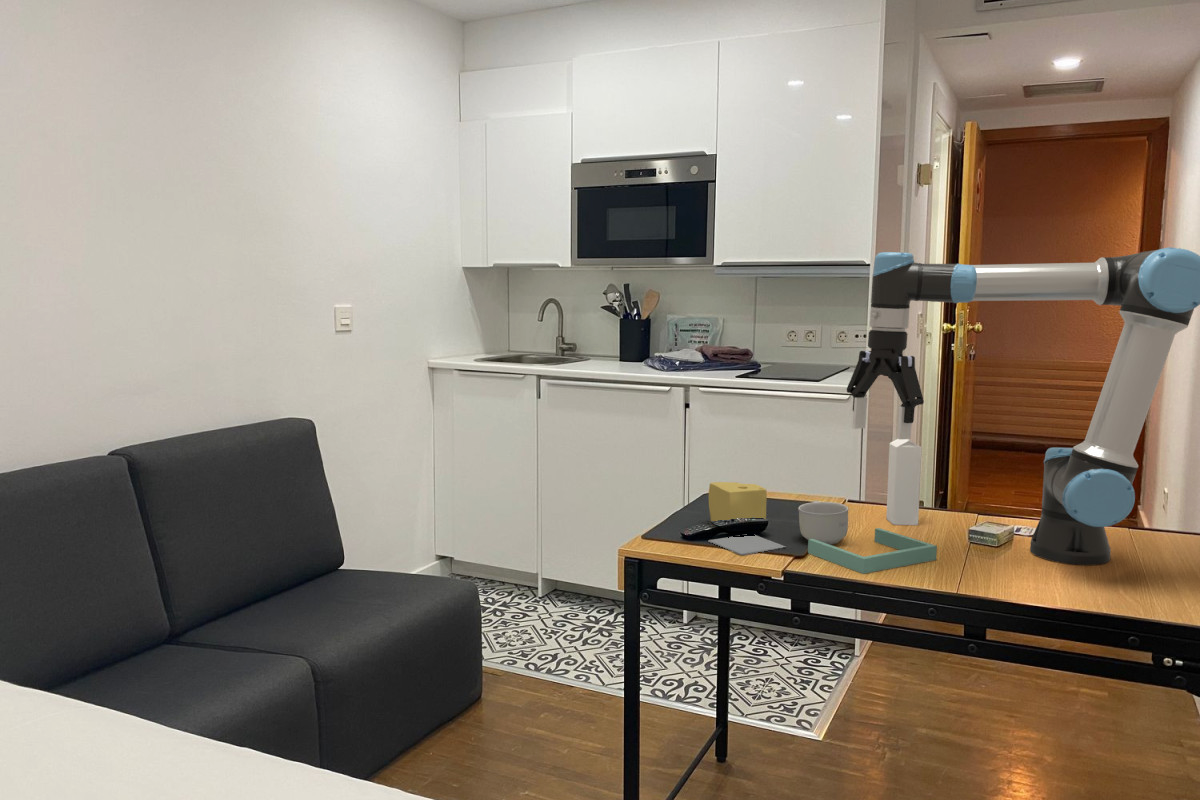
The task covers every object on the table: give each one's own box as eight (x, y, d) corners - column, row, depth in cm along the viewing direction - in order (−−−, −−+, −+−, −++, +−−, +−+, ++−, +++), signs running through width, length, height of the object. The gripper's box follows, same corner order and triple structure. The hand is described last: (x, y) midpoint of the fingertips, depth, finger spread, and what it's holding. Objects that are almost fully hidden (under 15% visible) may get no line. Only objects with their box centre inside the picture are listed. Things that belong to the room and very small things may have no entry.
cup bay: (936, 559, 191) (936, 545, 191) (863, 573, 181) (863, 559, 181) (878, 541, 205) (879, 528, 205) (807, 553, 195) (808, 539, 195)
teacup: (848, 549, 199) (850, 513, 198) (797, 546, 201) (798, 510, 200) (845, 533, 212) (846, 499, 211) (797, 530, 214) (798, 496, 213)
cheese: (746, 519, 224) (747, 479, 223) (768, 530, 214) (769, 488, 213) (707, 523, 221) (708, 482, 220) (727, 534, 211) (728, 491, 210)
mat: (785, 548, 199) (786, 546, 199) (741, 555, 193) (741, 553, 193) (751, 535, 209) (751, 533, 209) (708, 542, 204) (708, 540, 204)
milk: (910, 519, 225) (915, 430, 223) (918, 525, 219) (923, 434, 217) (885, 518, 225) (889, 430, 223) (892, 525, 219) (897, 433, 217)
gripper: (834, 325, 195) (827, 424, 198) (917, 333, 173) (909, 444, 175) (862, 326, 198) (855, 423, 201) (948, 333, 176) (939, 443, 178)
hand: (880, 433), depth 188 cm, fingers open, 13 cm apart
